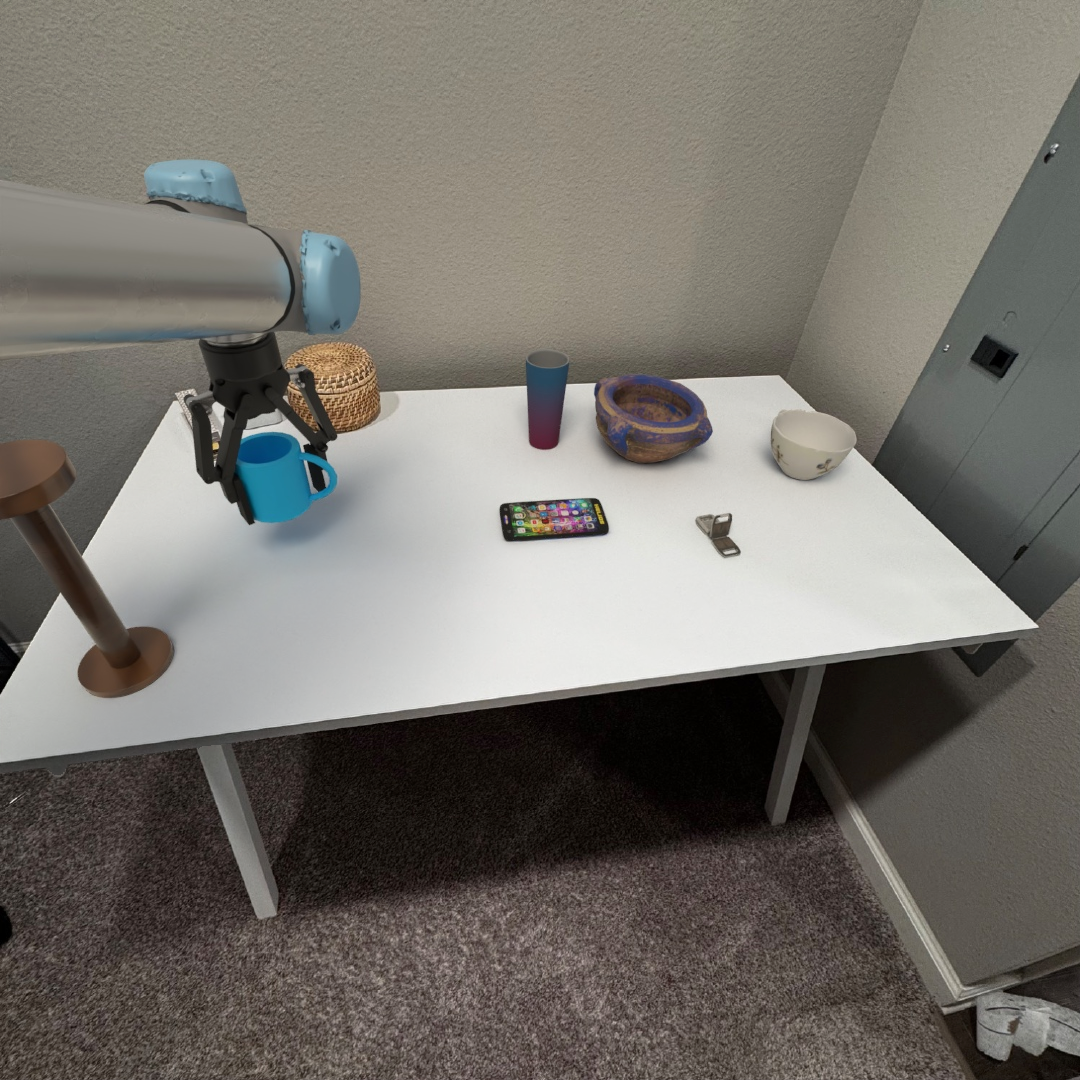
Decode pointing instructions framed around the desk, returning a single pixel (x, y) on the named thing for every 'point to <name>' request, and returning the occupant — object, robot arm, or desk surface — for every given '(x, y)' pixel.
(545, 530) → the smartphone
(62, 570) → the stand
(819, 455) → the teacup
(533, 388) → the cup
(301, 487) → the mug
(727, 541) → the strap clip
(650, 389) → the bowl
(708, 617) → the desk surface
